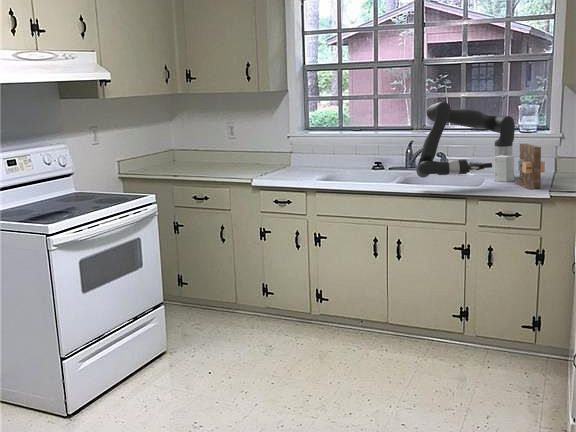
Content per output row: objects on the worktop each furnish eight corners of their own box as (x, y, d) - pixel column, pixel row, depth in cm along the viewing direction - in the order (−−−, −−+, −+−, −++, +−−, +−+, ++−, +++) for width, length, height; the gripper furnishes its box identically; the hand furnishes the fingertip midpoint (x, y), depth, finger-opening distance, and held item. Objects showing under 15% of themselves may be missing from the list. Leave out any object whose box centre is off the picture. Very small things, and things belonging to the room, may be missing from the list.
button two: (522, 172, 322) (522, 161, 321) (540, 171, 321) (541, 160, 320) (526, 173, 316) (526, 163, 315) (544, 172, 316) (545, 162, 315)
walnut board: (514, 183, 336) (514, 144, 332) (525, 182, 336) (525, 143, 332) (528, 189, 316) (529, 147, 312) (540, 188, 316) (540, 147, 312)
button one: (515, 169, 332) (515, 159, 331) (533, 168, 332) (533, 158, 331) (518, 170, 327) (518, 160, 326) (536, 169, 327) (536, 159, 326)
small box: (514, 180, 345) (514, 155, 343) (506, 182, 342) (506, 157, 340) (502, 179, 352) (502, 155, 350) (493, 180, 349) (493, 156, 346)
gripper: (460, 161, 323) (495, 159, 322) (453, 158, 336) (487, 156, 335) (460, 176, 324) (495, 174, 324) (454, 173, 337) (488, 170, 337)
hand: (491, 165), depth 330 cm, fingers closed
